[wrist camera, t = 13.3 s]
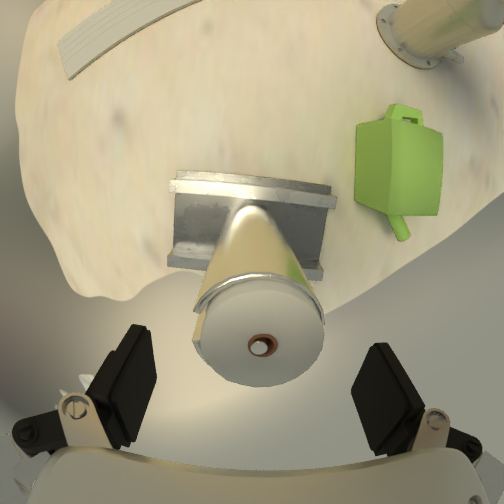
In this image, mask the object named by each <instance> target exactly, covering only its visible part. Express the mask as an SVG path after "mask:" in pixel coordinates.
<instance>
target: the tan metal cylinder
mask: <svg viewBox="0 0 504 504" xmlns="http://www.w3.org/2000/svg"><path fill="white" fill-rule="evenodd" d="M193 312H196V313H198V314H199V316H198V319H197V323H196V327H195V330H194V333H193V337H192V342H193V344H194V346H195V348H196V350H197V352H198V354H199V355H200V356H201V358H202V359H204V361H205V362H206V363H207V364H208V365H210V366H211V367H212V368H213V369H214V370H215V372H217V373H218V374H219V375H221V376H222V377H223V378H225V379H226V380H228V381H231V382H234V383H238V384H241V385H246V386H251V387H270V386H274V385H279V384H284V383H286V382H288V381H291V380H293V379H295V378H297V377H298V376H300V375H301V374H302V373H304V372H305V371H307V370H308V369H309V368H310V367H311V365H312V364H313V363H314V362H315V361H316V360H317V357H318V356H319V354H320V352H321V350H322V347H323V340H324V330H323V325H325V322H324V314H323V309H322V307H321V305H320V303H319V301H318V299H317V297H316V295H315V293H314V291H313V289H312V287H311V285H310V283H309V281H308V279H307V278H306V276H305V274H304V272H303V270H302V268H301V266H300V264H299V262H298V260H297V258H296V256H295V255H294V253H293V251H292V249H291V247H290V245H289V243H288V241H287V239H286V238H285V236H284V234H283V232H282V230H281V228H280V226H279V225H278V223H277V221H276V219H275V217H274V215H273V214H272V212H271V210H270V209H269V208H268V207H267V206H266V205H264V204H263V203H261V202H258V201H255V200H246V201H242V202H239V203H238V204H236V205H234V206H233V207H232V208H231V209H230V211H229V212H228V214H227V216H226V219H225V221H224V224H223V227H222V229H221V232H220V235H219V238H218V240H217V243H216V246H215V249H214V251H213V254H212V257H211V260H210V262H209V265H208V268H207V271H206V274H205V277H204V280H203V282H202V285H201V288H200V291H199V294H198V297H197V300H196V303H195V306H194V309H193Z"/></svg>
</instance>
